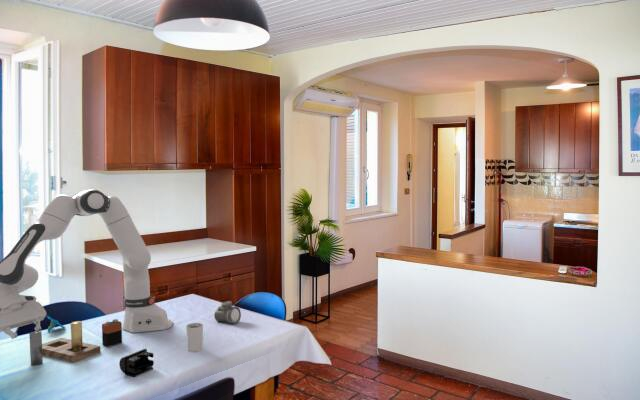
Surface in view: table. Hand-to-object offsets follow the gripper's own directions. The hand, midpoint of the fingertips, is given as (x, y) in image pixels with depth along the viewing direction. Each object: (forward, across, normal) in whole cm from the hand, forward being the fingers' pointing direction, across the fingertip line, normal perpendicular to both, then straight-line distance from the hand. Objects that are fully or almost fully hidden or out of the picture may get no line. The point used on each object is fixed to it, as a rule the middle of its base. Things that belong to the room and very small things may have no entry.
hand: (27, 333), depth 190 cm
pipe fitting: (+35, +74, -19) cm, 84 cm away
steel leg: (+11, 0, +4) cm, 12 cm away
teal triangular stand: (-10, +30, +26) cm, 41 cm away
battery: (+17, +28, -2) cm, 33 cm away
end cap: (+40, +12, -24) cm, 48 cm away
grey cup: (+43, +38, -27) cm, 64 cm away
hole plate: (+11, +13, +4) cm, 18 cm away
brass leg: (+15, +13, 0) cm, 20 cm away
